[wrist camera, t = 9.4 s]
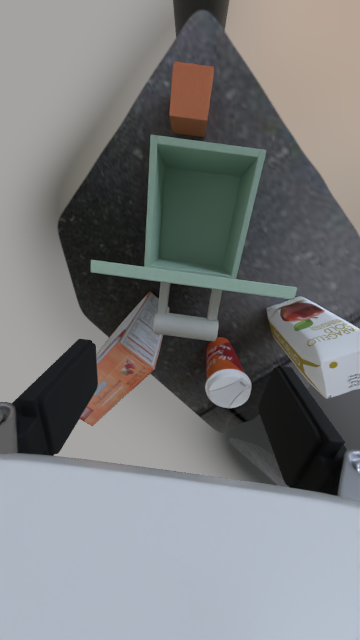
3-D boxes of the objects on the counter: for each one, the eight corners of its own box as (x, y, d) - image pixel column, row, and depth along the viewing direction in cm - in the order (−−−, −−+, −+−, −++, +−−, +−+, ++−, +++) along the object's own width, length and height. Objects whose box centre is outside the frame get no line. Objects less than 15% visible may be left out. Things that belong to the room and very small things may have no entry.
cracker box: (132, 349, 47) (91, 429, 28) (111, 333, 45) (53, 406, 26) (172, 308, 42) (156, 372, 23) (150, 289, 41) (113, 340, 22)
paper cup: (220, 326, 43) (232, 365, 30) (243, 348, 45) (263, 394, 32) (194, 347, 46) (195, 392, 33) (216, 367, 48) (225, 417, 35)
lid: (90, 259, 13) (88, 333, 14) (297, 287, 13) (278, 359, 14) (143, 267, 29) (140, 302, 30) (236, 279, 29) (229, 314, 30)
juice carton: (310, 323, 42) (395, 387, 24) (269, 336, 43) (320, 405, 26) (304, 290, 39) (394, 337, 22) (260, 305, 41) (311, 360, 23)
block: (176, 88, 29) (173, 61, 24) (210, 93, 29) (214, 66, 24) (172, 133, 31) (169, 115, 26) (204, 137, 31) (207, 120, 26)
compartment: (162, 161, 32) (150, 134, 23) (245, 172, 32) (266, 149, 23) (155, 261, 38) (144, 269, 29) (225, 270, 38) (235, 281, 29)
